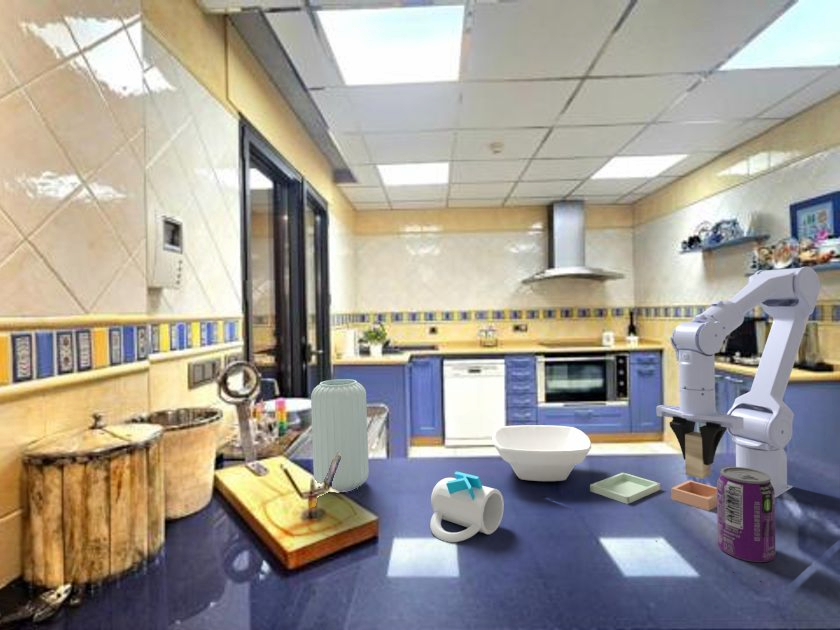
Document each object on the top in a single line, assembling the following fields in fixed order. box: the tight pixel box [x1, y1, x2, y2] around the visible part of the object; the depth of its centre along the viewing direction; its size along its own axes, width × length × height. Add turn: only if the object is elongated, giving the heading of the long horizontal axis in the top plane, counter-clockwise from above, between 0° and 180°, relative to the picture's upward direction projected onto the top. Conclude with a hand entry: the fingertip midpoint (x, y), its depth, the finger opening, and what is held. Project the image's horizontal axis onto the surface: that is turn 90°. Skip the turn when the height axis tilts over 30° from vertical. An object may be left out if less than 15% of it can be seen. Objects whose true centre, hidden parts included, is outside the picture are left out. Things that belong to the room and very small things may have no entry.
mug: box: [429, 471, 505, 543], centre depth 84 cm, size 12×9×12 cm
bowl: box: [491, 424, 592, 482], centre depth 107 cm, size 21×21×9 cm
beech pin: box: [684, 430, 712, 480], centre depth 90 cm, size 3×3×8 cm
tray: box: [589, 472, 661, 505], centre depth 96 cm, size 11×8×2 cm
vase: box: [310, 378, 370, 491], centre depth 104 cm, size 12×12×22 cm
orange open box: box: [670, 479, 717, 512], centre depth 91 cm, size 7×7×3 cm
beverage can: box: [716, 466, 776, 563], centre depth 72 cm, size 7×7×12 cm
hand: (698, 461), depth 91 cm, fingers closed on beech pin, 3 cm apart
